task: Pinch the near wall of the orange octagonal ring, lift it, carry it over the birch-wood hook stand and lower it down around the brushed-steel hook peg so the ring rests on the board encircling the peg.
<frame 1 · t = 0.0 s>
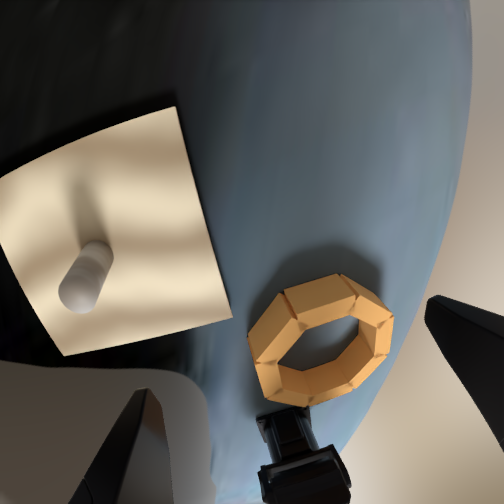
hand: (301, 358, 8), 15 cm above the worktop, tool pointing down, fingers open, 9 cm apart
orange octagonal ring: (316, 335, 28), on the worktop
hook stand: (101, 248, 21), on the worktop
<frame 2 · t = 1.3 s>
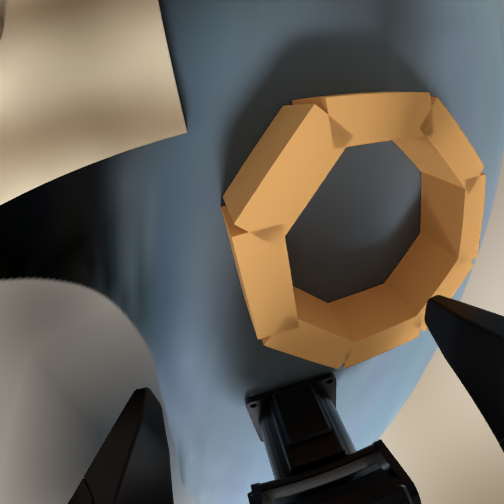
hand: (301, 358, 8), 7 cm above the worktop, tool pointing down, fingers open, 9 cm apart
orange octagonal ring: (354, 221, 15), on the worktop
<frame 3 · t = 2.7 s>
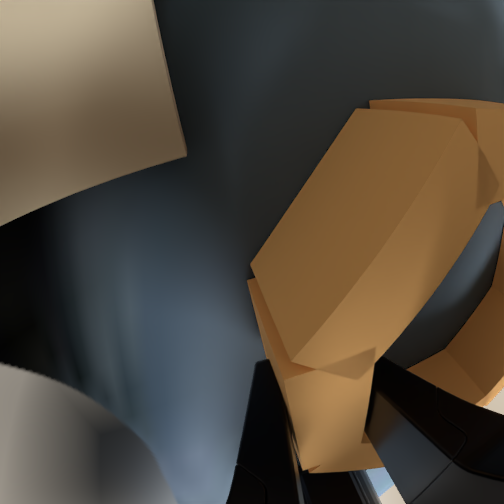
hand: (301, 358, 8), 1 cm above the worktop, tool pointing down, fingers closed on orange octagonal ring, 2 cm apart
orange octagonal ring: (431, 283, 10), on the worktop, touching gripper
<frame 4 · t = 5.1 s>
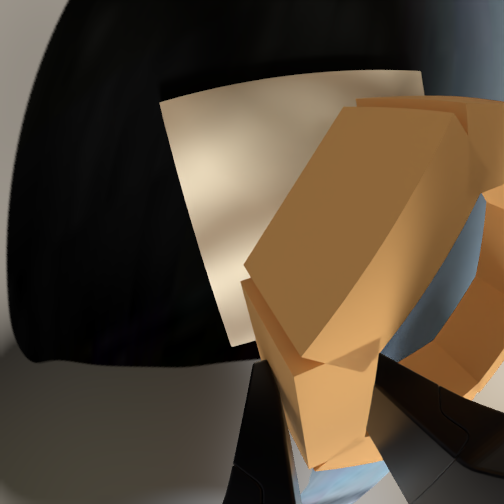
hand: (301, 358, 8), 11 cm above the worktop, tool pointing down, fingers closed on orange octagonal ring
orange octagonal ring: (418, 276, 10), point 10 cm above the worktop, tilted 6°, touching gripper
hook stand: (323, 203, 19), on the worktop
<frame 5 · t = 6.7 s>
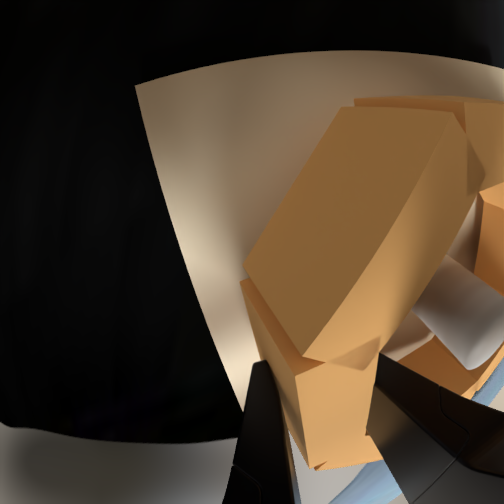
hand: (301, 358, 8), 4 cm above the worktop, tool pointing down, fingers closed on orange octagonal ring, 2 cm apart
orange octagonal ring: (416, 275, 10), point 2 cm above the worktop, tilted 6°, touching gripper
hook stand: (388, 249, 12), on the worktop
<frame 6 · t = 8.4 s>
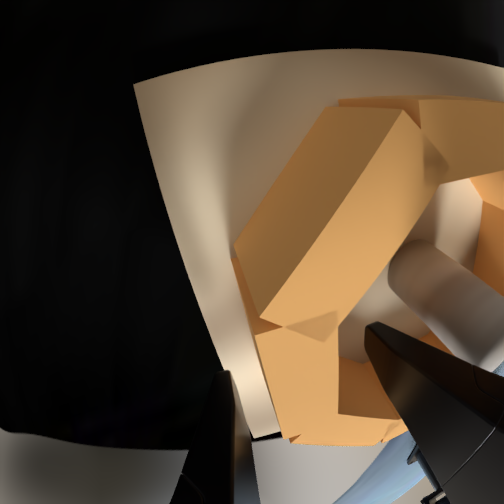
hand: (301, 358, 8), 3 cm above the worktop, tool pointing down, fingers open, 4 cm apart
orange octagonal ring: (407, 267, 11), point 1 cm above the worktop, touching hook stand
hook stand: (395, 254, 12), on the worktop
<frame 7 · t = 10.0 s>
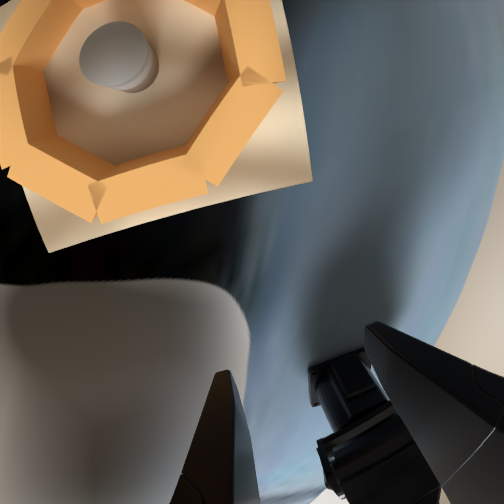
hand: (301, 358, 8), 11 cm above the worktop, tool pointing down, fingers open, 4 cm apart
orange octagonal ring: (130, 70, 12), point 1 cm above the worktop, touching hook stand
hook stand: (138, 73, 13), on the worktop
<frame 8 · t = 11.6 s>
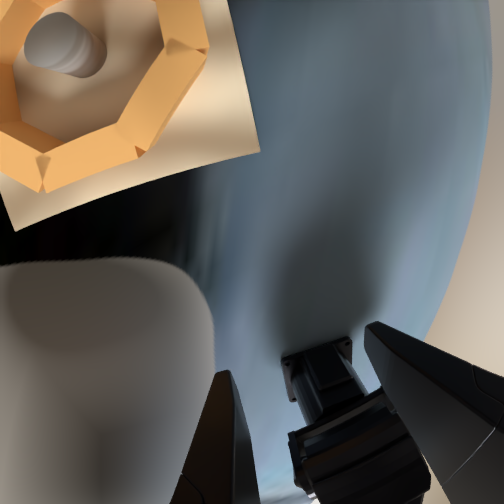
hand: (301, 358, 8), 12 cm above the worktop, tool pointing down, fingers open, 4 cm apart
orange octagonal ring: (82, 58, 12), point 1 cm above the worktop, touching hook stand
hook stand: (92, 61, 13), on the worktop
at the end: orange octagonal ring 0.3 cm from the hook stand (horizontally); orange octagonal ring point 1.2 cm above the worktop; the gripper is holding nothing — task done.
